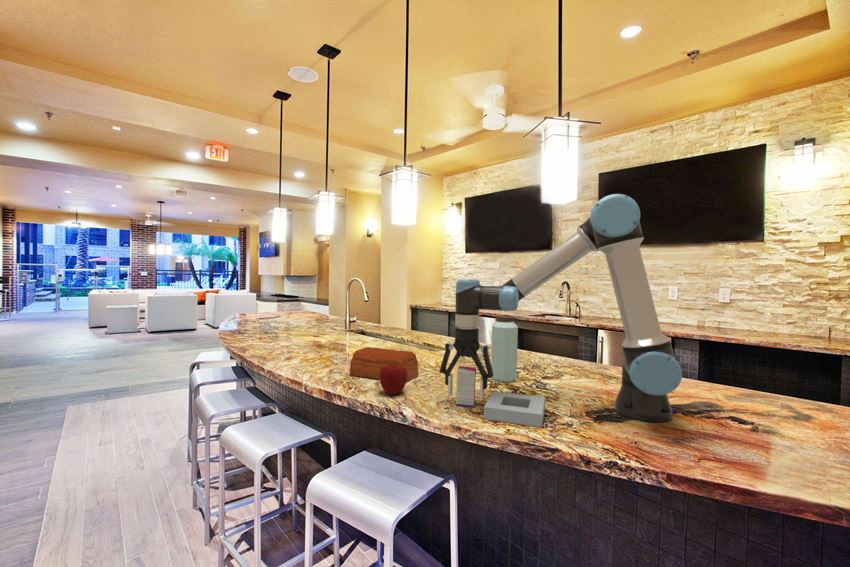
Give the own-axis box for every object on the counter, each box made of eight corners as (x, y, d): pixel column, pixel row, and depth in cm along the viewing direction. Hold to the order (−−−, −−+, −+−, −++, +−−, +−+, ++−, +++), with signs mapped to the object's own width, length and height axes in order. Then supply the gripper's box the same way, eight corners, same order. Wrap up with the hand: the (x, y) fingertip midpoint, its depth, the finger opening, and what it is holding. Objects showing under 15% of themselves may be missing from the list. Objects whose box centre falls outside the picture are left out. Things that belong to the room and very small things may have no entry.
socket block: (544, 408, 120) (545, 397, 120) (541, 427, 105) (542, 414, 105) (493, 402, 126) (493, 391, 125) (483, 419, 111) (483, 406, 110)
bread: (404, 384, 145) (404, 356, 144) (345, 376, 156) (345, 350, 156) (421, 375, 159) (422, 349, 159) (366, 368, 170) (367, 344, 170)
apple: (400, 399, 127) (401, 368, 127) (374, 395, 131) (374, 366, 130) (410, 391, 136) (411, 362, 136) (386, 388, 139) (386, 360, 139)
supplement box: (474, 407, 120) (474, 371, 120) (455, 406, 121) (456, 369, 121) (475, 401, 126) (476, 366, 126) (457, 400, 127) (458, 365, 127)
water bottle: (522, 380, 152) (523, 317, 151) (504, 384, 146) (505, 318, 146) (503, 375, 160) (504, 315, 160) (485, 378, 154) (486, 316, 154)
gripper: (504, 328, 123) (502, 397, 123) (437, 324, 130) (436, 389, 131) (500, 331, 116) (499, 405, 116) (430, 326, 123) (429, 396, 124)
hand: (465, 397), depth 124 cm, fingers open, 10 cm apart
